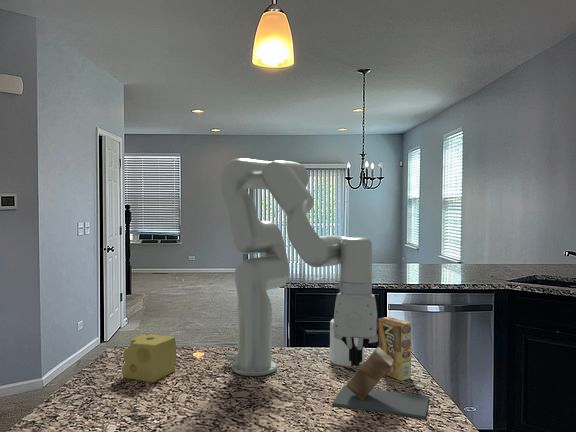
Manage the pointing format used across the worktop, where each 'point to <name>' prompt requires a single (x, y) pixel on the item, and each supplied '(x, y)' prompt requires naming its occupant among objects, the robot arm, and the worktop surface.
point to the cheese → (149, 357)
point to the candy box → (396, 346)
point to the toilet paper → (340, 349)
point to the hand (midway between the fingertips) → (355, 364)
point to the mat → (384, 402)
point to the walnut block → (370, 373)
